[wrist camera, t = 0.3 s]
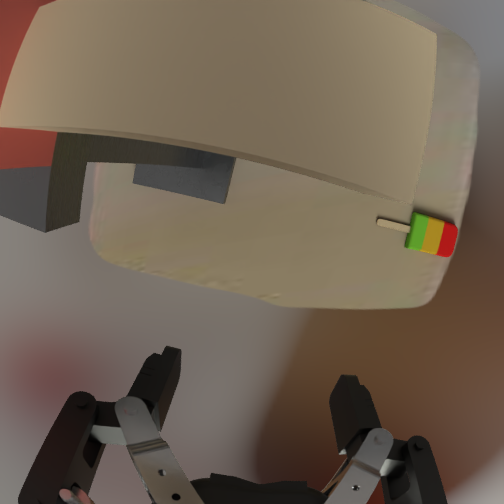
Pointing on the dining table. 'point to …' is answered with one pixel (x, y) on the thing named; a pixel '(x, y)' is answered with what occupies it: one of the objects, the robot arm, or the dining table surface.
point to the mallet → (224, 83)
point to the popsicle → (427, 234)
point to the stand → (113, 151)
